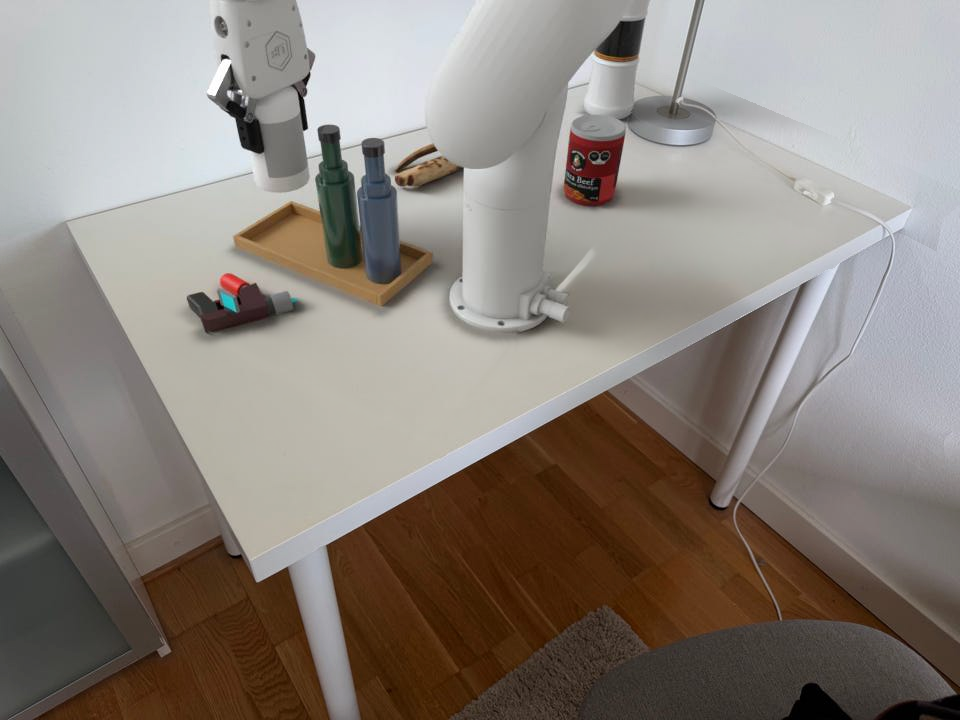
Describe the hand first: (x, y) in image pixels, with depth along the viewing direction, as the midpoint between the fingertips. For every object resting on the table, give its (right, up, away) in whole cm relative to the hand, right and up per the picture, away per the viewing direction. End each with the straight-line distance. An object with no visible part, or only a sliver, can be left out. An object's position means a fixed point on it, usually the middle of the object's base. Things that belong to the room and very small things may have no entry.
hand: (275, 137), depth 83 cm
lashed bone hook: (+17, +3, +26) cm, 32 cm away
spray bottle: (0, -4, +4) cm, 6 cm away
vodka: (+49, +19, +46) cm, 70 cm away
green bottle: (+7, -14, +6) cm, 17 cm away
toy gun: (-4, -21, 0) cm, 21 cm away
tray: (+5, -13, +8) cm, 16 cm away
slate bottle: (+13, -16, +4) cm, 21 cm away
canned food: (+42, -2, +22) cm, 47 cm away
